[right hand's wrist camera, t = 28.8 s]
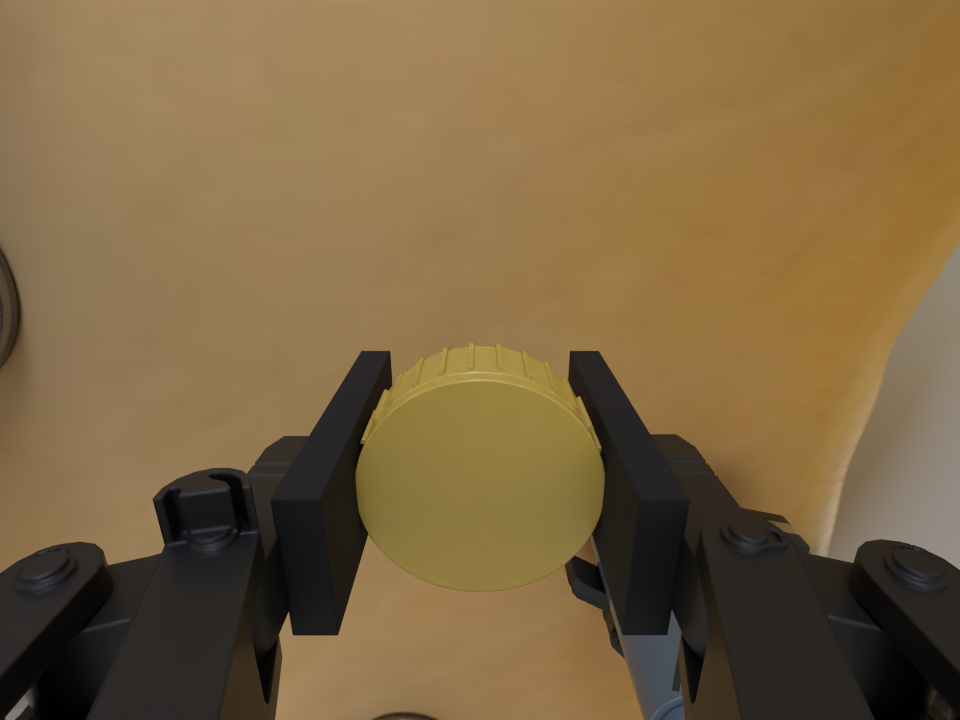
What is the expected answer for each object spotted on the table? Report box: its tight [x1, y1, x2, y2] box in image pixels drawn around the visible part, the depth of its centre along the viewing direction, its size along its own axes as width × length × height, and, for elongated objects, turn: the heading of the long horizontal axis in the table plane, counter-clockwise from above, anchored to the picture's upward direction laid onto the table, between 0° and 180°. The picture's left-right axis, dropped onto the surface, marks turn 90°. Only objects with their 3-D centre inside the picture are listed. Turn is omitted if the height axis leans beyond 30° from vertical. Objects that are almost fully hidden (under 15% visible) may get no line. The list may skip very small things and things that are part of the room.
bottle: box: [589, 534, 685, 720], centre depth 29 cm, size 4×4×18 cm
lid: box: [355, 343, 605, 592], centre depth 11 cm, size 5×5×2 cm
